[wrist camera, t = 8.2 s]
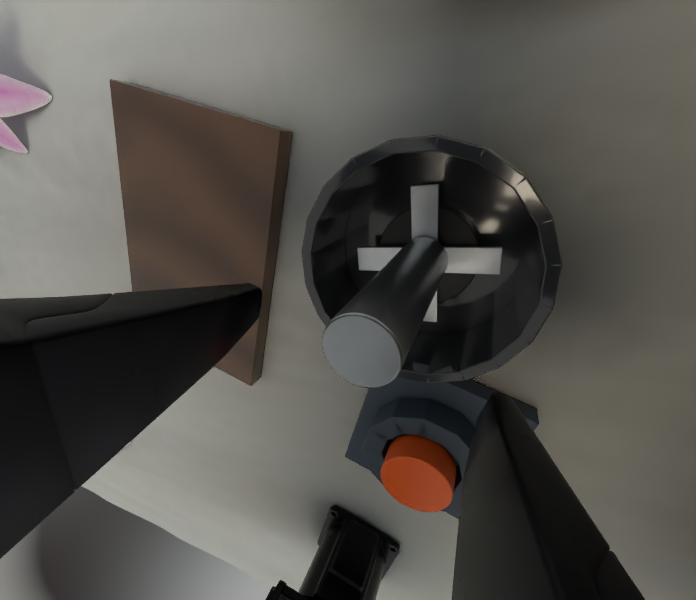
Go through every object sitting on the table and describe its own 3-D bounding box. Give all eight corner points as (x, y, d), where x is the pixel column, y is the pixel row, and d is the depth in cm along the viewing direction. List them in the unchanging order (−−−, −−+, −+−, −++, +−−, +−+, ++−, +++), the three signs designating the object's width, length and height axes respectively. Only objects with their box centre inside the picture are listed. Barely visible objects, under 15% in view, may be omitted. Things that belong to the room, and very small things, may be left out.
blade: (496, 316, 17) (492, 482, 8) (372, 306, 19) (274, 426, 11) (507, 177, 14) (517, 215, 6) (363, 187, 17) (228, 224, 8)
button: (441, 496, 20) (436, 523, 19) (381, 464, 21) (372, 487, 20) (467, 456, 18) (464, 483, 17) (399, 422, 19) (391, 445, 18)
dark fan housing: (487, 363, 18) (483, 418, 15) (326, 295, 21) (288, 327, 17) (594, 176, 14) (631, 186, 10) (367, 115, 16) (325, 105, 12)
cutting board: (260, 377, 26) (251, 386, 25) (148, 318, 29) (135, 325, 28) (293, 131, 18) (280, 130, 17) (128, 82, 21) (108, 78, 20)
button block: (465, 506, 23) (461, 549, 21) (350, 444, 25) (334, 477, 23) (537, 408, 18) (543, 450, 16) (387, 342, 20) (371, 369, 18)
